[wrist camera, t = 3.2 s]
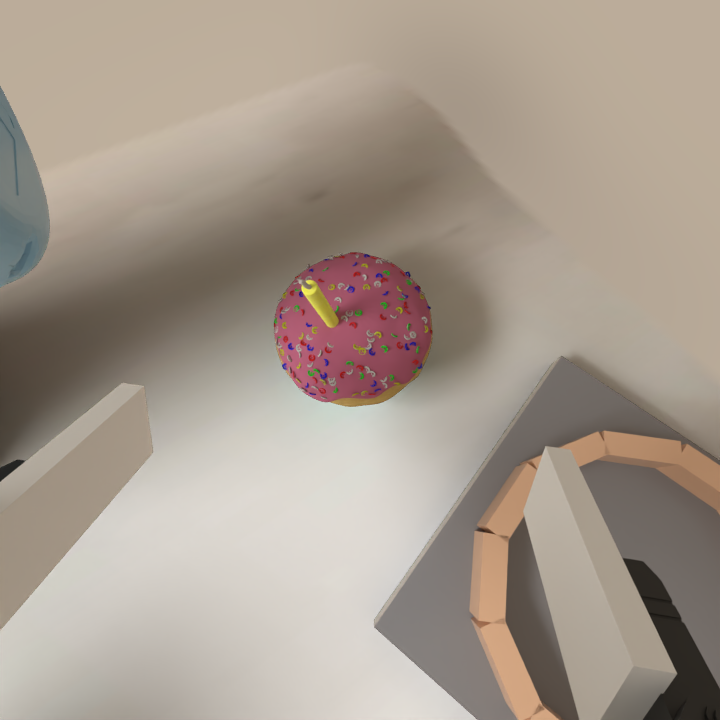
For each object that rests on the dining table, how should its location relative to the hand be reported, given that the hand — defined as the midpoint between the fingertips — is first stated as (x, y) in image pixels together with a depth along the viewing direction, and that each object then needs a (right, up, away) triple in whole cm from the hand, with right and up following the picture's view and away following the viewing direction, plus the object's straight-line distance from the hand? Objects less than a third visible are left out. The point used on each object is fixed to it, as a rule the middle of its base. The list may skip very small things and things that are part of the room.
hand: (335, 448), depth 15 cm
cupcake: (0, +3, +14) cm, 14 cm away
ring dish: (+14, -9, +9) cm, 19 cm away
